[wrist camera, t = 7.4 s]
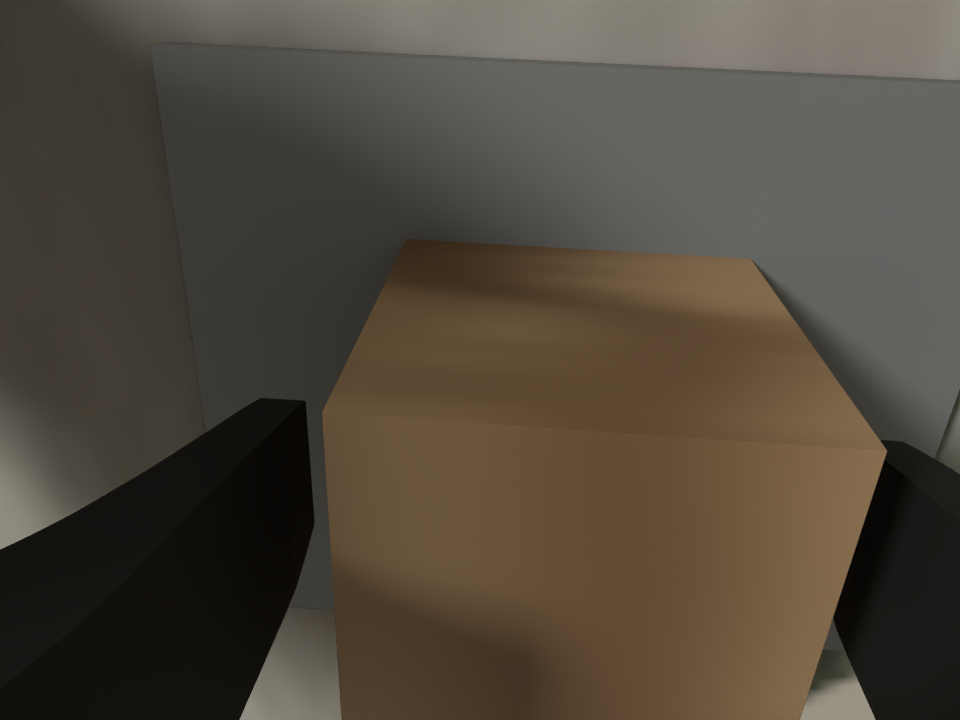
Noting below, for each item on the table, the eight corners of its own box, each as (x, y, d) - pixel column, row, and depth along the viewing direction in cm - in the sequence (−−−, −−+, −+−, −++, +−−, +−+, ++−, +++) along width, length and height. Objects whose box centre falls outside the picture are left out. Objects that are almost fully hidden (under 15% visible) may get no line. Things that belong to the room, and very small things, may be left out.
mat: (236, 587, 15) (229, 601, 15) (162, 42, 11) (149, 45, 11) (856, 636, 15) (864, 652, 15) (1050, 84, 10) (1067, 89, 10)
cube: (408, 511, 14) (344, 772, 9) (407, 239, 12) (322, 413, 7) (694, 532, 14) (770, 810, 9) (751, 258, 11) (886, 450, 7)
